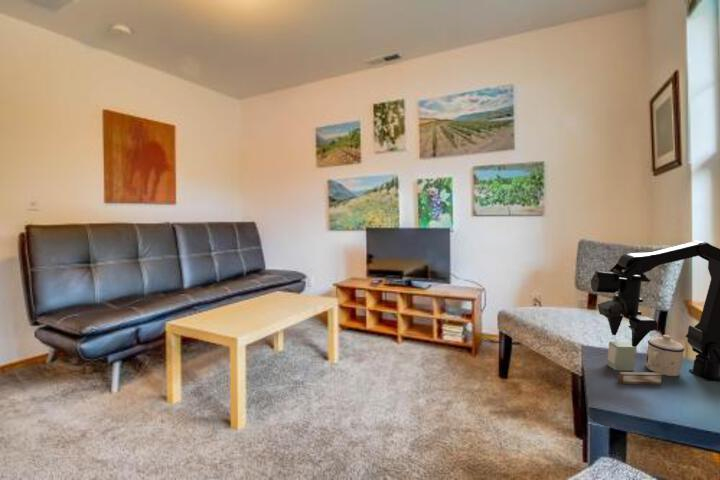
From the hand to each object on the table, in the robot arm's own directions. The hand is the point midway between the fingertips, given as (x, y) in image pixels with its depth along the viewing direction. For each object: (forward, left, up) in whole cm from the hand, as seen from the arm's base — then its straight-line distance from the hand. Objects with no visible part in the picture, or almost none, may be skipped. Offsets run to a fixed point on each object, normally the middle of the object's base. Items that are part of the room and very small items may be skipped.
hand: (623, 340), depth 119 cm
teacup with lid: (-11, +2, -10) cm, 15 cm away
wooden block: (+1, +10, -9) cm, 13 cm away
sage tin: (0, 0, -9) cm, 9 cm away
